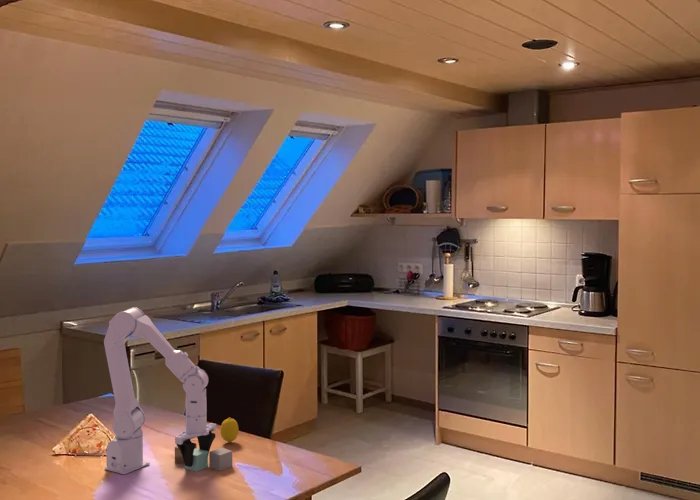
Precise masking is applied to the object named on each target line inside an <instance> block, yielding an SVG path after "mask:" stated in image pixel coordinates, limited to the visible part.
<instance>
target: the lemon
mask: <svg viewBox="0 0 700 500" xmlns="http://www.w3.org/2000/svg"><path fill="white" fill-rule="evenodd" d="M239 432H240V431H239V424H238V422H237V420H235V419H234V418H231V417H228V418H227V419H224V420H223V421H222V423H221V426H220V436H221V438H222V439H223V440H224V441H226V442H227V443H228V444H231V443H232V442H234V441H235V440H236V439H237V438H238V436H239Z"/></svg>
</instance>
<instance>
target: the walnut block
mask: <svg viewBox="0 0 700 500" xmlns="http://www.w3.org/2000/svg"><path fill="white" fill-rule="evenodd" d="M197 446H198V445H197V443H196V446H195V448H196V449H198V448H197ZM195 448H194V449H195ZM174 463H176V464H177V463H178V464H181V465H182V464H183V465H185V464H184V460H183V456H182V454H181V451H180V449H179V448H178V446H177V445H176V446H174Z"/></svg>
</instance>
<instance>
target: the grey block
mask: <svg viewBox="0 0 700 500" xmlns="http://www.w3.org/2000/svg"><path fill="white" fill-rule="evenodd" d="M208 465H209V466H208V467H209V468H211V469H214V470H216V471H219V472H221V471H223V470H227V469H229V468H232V467H233V450H230V449H228V448H226V447H225V448H224V447H220V448H215V449H214V450H211V451H209V454H208Z"/></svg>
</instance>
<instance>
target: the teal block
mask: <svg viewBox="0 0 700 500" xmlns="http://www.w3.org/2000/svg"><path fill="white" fill-rule="evenodd" d="M208 465H209V454H208V451H205V450H201V449H199V448H197V449H196V448H195V449H194V453H193V464H192V466H191V467H188V466H185V465H184V469H185V470H188V471H192V472H200V471H201V470H203V469H206V468H207V467H209V466H208Z"/></svg>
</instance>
